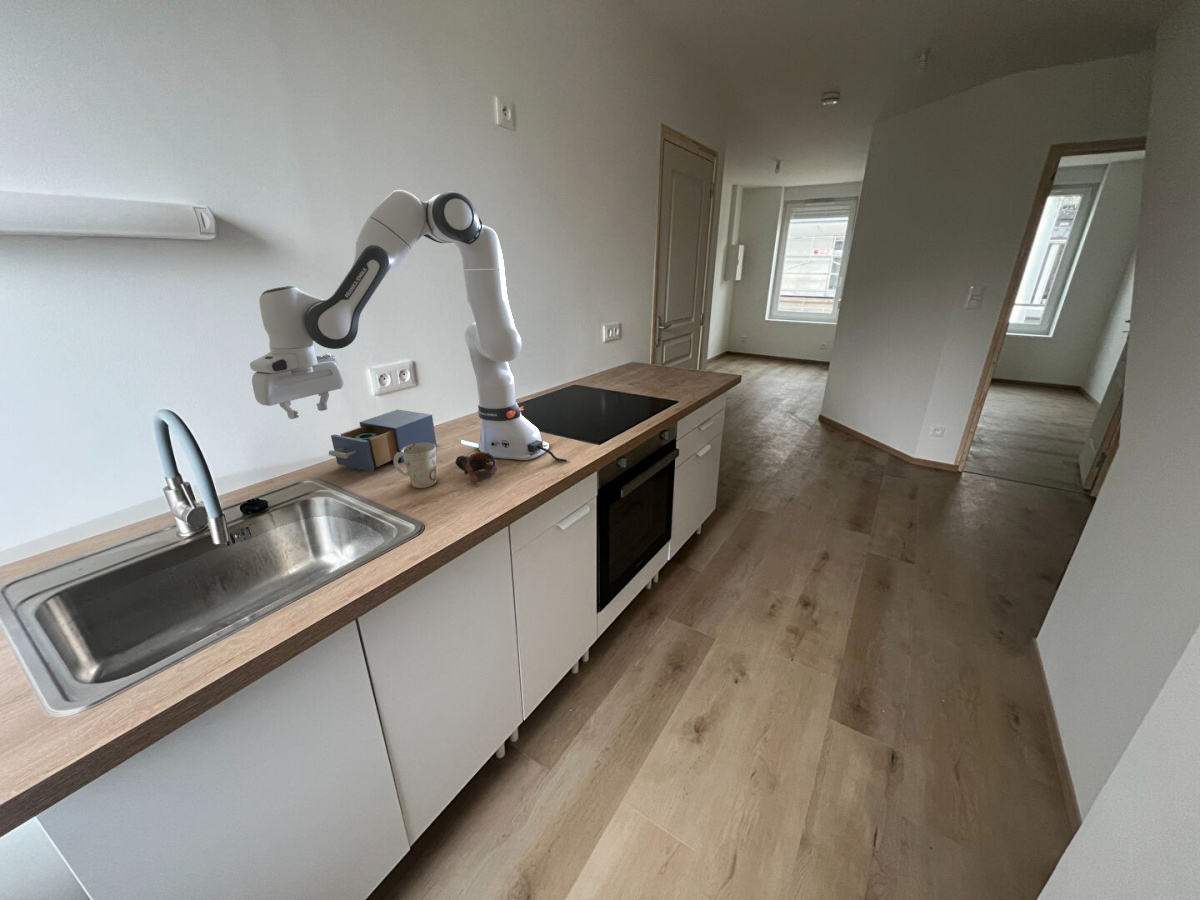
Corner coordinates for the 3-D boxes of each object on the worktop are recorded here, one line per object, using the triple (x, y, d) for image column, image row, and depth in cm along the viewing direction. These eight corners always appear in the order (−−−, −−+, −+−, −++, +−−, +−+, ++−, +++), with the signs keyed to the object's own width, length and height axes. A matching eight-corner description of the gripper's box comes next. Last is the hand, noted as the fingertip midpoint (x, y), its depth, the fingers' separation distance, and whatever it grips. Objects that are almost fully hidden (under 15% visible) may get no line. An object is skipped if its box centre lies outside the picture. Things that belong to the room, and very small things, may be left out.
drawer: (357, 477, 121) (351, 447, 118) (323, 469, 126) (316, 440, 123) (408, 455, 136) (403, 427, 133) (376, 448, 141) (370, 421, 138)
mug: (430, 491, 115) (424, 455, 112) (386, 487, 118) (379, 451, 114) (446, 477, 123) (441, 443, 119) (405, 474, 125) (399, 440, 122)
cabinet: (401, 462, 133) (395, 428, 129) (366, 454, 139) (359, 422, 135) (436, 446, 146) (432, 414, 142) (402, 439, 151) (397, 409, 147)
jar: (384, 455, 133) (380, 434, 131) (369, 461, 128) (364, 440, 126) (371, 452, 135) (366, 432, 133) (355, 458, 130) (350, 437, 128)
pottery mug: (502, 471, 128) (503, 453, 122) (491, 498, 122) (490, 480, 115) (462, 459, 128) (460, 441, 122) (448, 486, 122) (445, 467, 115)
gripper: (326, 351, 118) (337, 402, 123) (241, 364, 101) (258, 423, 106) (342, 352, 116) (353, 405, 121) (259, 367, 98) (276, 427, 103)
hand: (308, 414), depth 113 cm, fingers open, 6 cm apart
